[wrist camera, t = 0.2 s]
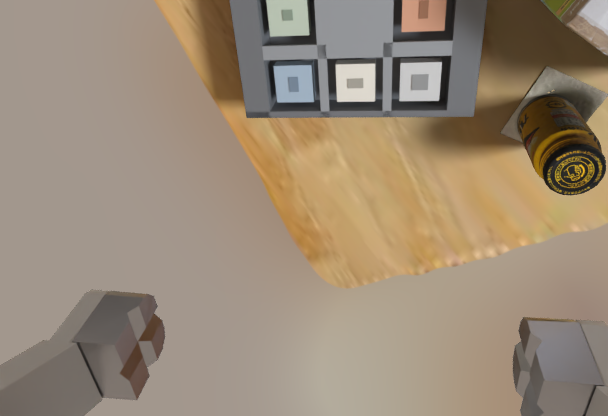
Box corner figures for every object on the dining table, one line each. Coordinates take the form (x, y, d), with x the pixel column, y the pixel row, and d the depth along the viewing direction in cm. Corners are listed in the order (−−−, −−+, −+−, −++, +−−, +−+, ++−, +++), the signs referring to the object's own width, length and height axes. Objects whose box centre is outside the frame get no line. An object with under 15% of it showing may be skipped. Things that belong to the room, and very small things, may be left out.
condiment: (499, 132, 57) (519, 186, 47) (546, 65, 52) (579, 110, 43) (556, 157, 58) (587, 216, 48) (607, 93, 53) (654, 143, 43)
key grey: (400, 58, 51) (400, 63, 50) (441, 57, 51) (442, 62, 49) (399, 95, 53) (399, 101, 52) (438, 95, 53) (439, 101, 51)
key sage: (268, -9, 50) (265, -6, 48) (308, -11, 49) (306, -8, 48) (273, 32, 52) (270, 36, 51) (311, 31, 51) (309, 35, 50)
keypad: (241, -29, 52) (226, -20, 48) (483, -43, 48) (491, -35, 44) (258, 99, 60) (246, 117, 55) (468, 97, 56) (473, 116, 51)
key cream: (337, 59, 52) (335, 64, 51) (375, 59, 52) (375, 63, 50) (338, 96, 55) (336, 102, 53) (375, 96, 54) (375, 101, 53)
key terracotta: (402, -16, 47) (402, -13, 46) (446, -18, 47) (447, -15, 45) (401, 28, 50) (401, 32, 48) (443, 26, 49) (444, 30, 48)
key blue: (276, 61, 54) (273, 66, 52) (313, 60, 53) (311, 65, 51) (280, 97, 56) (277, 102, 54) (315, 97, 55) (313, 102, 54)
